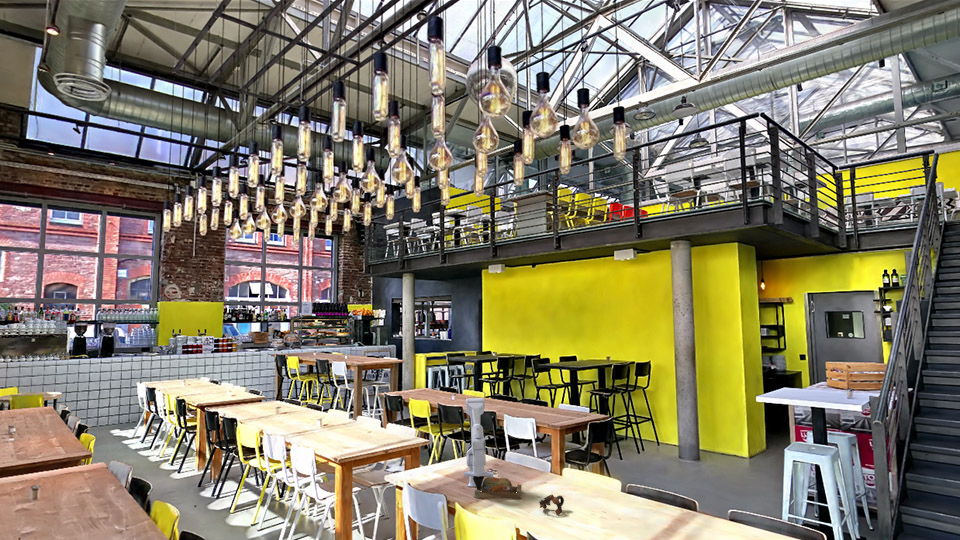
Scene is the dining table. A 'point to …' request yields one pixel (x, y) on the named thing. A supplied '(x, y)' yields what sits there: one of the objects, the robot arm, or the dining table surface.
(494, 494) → the walnut rails
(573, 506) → the dining table surface
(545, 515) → the dining table surface
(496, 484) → the tin
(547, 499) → the brown figurine
